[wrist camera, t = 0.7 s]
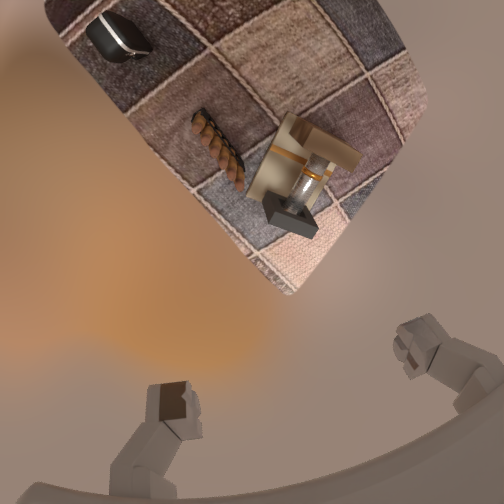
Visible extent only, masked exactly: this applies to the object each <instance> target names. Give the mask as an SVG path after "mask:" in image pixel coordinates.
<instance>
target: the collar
mask: <svg viewBox="0 0 504 504" xmlns="http://www.w3.org/2000/svg"><path fill="white" fill-rule="evenodd" d="M286 199H287V198H286V197H284V196H281V195H279V194H277V193H274V192H271V191H269V190H267V192H266V194H265V196H264V197H263V199H262V203H263V207H264V210H265V213H266V217H267V220H268V224H271V225H274V226H276V227H279V228H282V229H285V230H287V231H290V232H293V233H296V234H298V235H301V236H304V237H306V238H309V239H313V237H314V236H315V234H316V232H317V231H318V229H319V228H318V226H317V224H316V222H315V220H314V218H313V217H312V215H311V213H310V211H309V210H308V208H307V206H306V205H305V207H304V208H303V210H302V212H301V213H300V215H299V216H297V215H295V214H292V213H290V212H287V211H285V210H283V209H282V206H283V204H284V202H285V201H286Z"/></svg>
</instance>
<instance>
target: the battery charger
mask: <svg viewBox="0 0 504 504" xmlns="http://www.w3.org/2000/svg"><path fill="white" fill-rule="evenodd" d="M86 35H87V36H88V38H89V39H90V40H91V42H92V43H93V44H94V46H95V47H96V48H97V50H98V51H99V52H100V54H101V55H102V56H103V58H104V59H105V60H107V61H109V62H113V63H123V62H125V61H127V60H128V59H130V58H133V59H140V58H142V57H144V56H145V55H148V54H149V53H150V52H151V51H152V47H151V46H150V45H149V43H148V42H147V41H146V39H145V38H144V37H143V35H142V34H141V33H140V31H139V30H138V29H137V27H136V26H135V25H134V24H133V22H132V21H130V20H128V19H126V18H124V17H122V16H120V15H118V14H116V13H114V12H111V11H108V10H106V11H104V12H103V13H100V14H99V15H98V17H97V18H96V19H94V20H93V21H92V22H91V23H90V24H89V25H88V26H87V27H86Z"/></svg>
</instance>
